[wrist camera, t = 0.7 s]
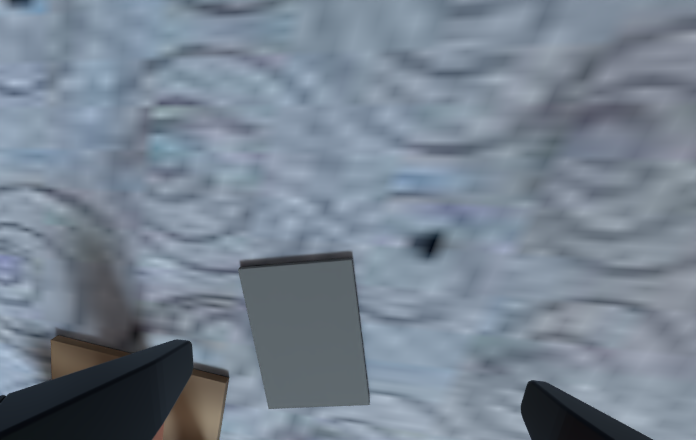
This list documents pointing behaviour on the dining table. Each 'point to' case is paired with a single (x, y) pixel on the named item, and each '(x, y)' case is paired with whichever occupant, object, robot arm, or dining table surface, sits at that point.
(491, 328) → the dining table surface
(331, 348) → the mat
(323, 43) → the dining table surface
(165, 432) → the stand
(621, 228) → the dining table surface
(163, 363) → the robot arm
